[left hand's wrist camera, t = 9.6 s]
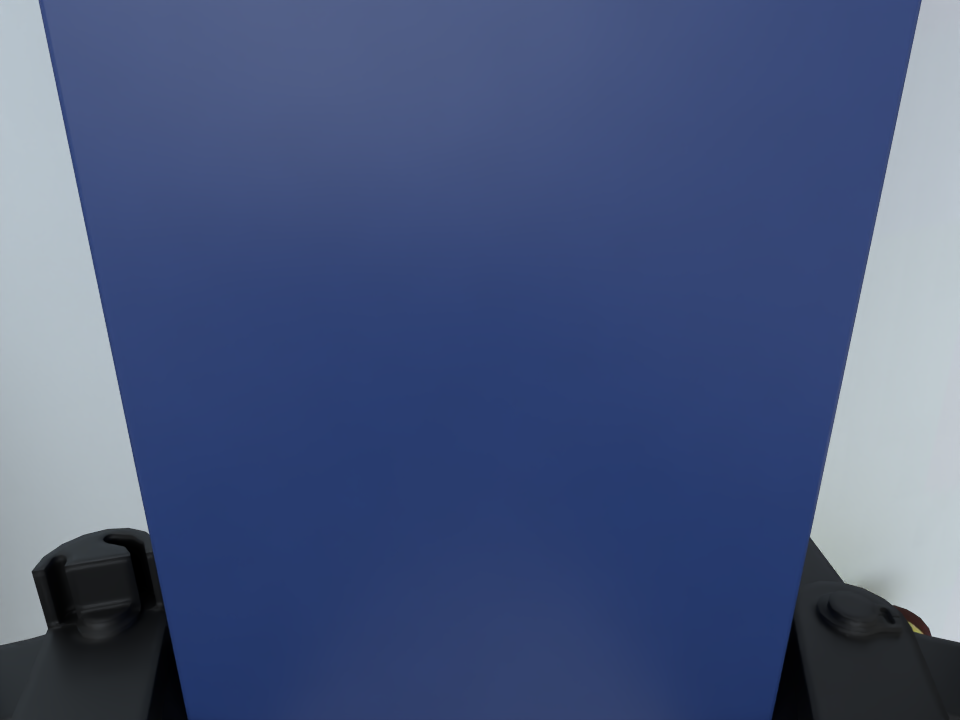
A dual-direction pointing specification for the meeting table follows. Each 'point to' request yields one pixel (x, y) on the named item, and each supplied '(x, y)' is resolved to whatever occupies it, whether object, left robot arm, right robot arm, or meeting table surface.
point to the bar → (479, 335)
